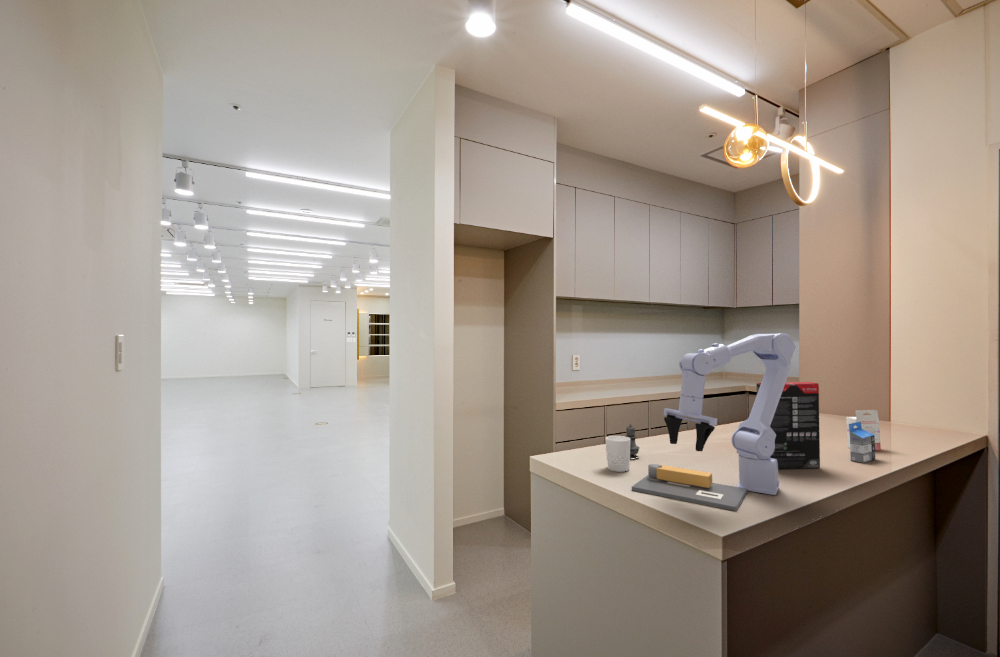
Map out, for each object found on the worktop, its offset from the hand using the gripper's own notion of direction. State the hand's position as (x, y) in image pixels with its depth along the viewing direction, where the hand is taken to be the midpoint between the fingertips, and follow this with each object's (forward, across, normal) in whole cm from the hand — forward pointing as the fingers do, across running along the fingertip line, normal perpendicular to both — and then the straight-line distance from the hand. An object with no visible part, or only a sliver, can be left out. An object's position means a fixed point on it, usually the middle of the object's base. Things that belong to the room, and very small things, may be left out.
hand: (685, 447), depth 117 cm
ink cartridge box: (-2, +11, +94) cm, 95 cm away
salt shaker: (+12, -33, +21) cm, 41 cm away
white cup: (+14, -26, +6) cm, 30 cm away
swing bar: (+11, -5, +7) cm, 13 cm away
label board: (+12, -1, +5) cm, 13 cm away
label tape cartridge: (0, +16, +77) cm, 79 cm away
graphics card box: (+5, +5, +51) cm, 51 cm away
